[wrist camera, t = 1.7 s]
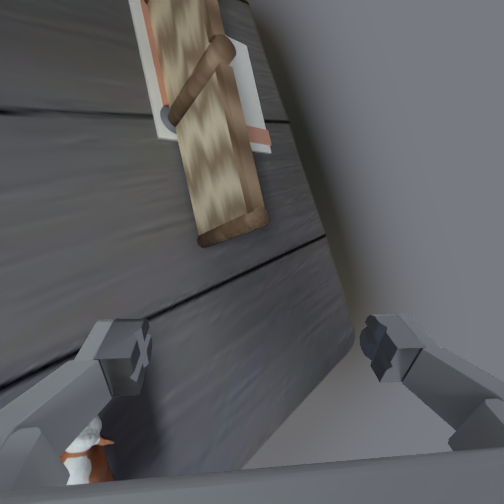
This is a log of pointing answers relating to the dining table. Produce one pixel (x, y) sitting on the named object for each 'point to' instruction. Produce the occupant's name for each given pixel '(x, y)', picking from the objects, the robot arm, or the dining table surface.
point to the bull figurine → (88, 456)
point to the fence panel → (220, 162)
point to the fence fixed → (188, 48)
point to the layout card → (158, 92)
